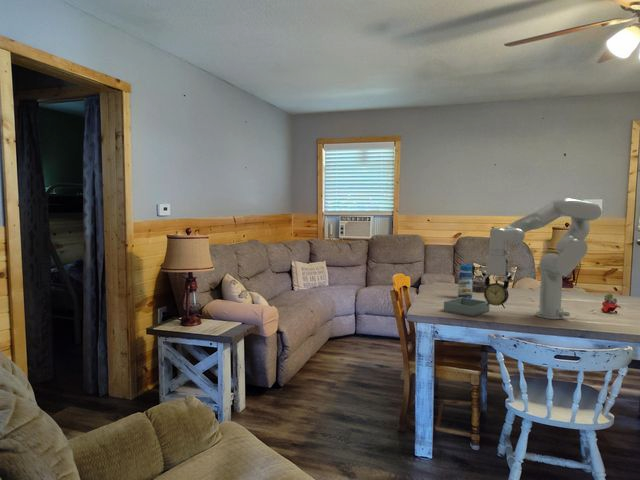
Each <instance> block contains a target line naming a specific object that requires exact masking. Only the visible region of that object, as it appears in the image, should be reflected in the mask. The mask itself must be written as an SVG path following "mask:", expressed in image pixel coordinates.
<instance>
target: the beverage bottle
mask: <svg viewBox="0 0 640 480" xmlns="http://www.w3.org/2000/svg"><path fill="white" fill-rule="evenodd" d="M459 271H460V273H459V274H458V279H457V282H458V289H457V298H460V297H463V298H469V299H473V289H472V285H473V281H474V275H473V274H472V271H473V265H470V264H460V266H459Z"/></svg>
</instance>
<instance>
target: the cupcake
mask: <svg viewBox="0 0 640 480" xmlns="http://www.w3.org/2000/svg"><path fill="white" fill-rule="evenodd" d="M486 287H487V286H486V284H485V278H484V276H482V275H481V276H480V275H479V276H476V278H475V279H473V285H472V293H479V294H484V290H485V288H486Z"/></svg>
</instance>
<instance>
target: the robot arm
mask: <svg viewBox="0 0 640 480" xmlns="http://www.w3.org/2000/svg"><path fill="white" fill-rule="evenodd" d="M601 214H602V209H601V207H600V205H599V204H598V203H595V202H591V201H586V200H580V199H575V198H570V197H569V198H567V197H566V198H556V199H554V200H552V201H550V202H549V203H547V204H545V205H544V206H542V207H540V208H539V209H537V210H535V211H533V212H532V213H530V214H528V215H526V216H523V217H521V218H519V219H516V220H515V221H513V222H511V223H510V224H508V225H507V226H505V227H504V228H502V227H493V228H490V231H489V253H488V255H487V260H486V265H485V266H484V267H482V268H480V269H479V271H480V272H481V276H482V277H484V278H485V284H486V286H488V285H489V284H491V278H490V277H491V276H494V277H499V276H500V277H503V279H504V281H503V285H504V289H507V290H508V288H509V285H510V280H511V279H512V278H514V275H515V273H516V272H515V271H513V270H512V269H510V263H509V257H508V254H509V253H510V252H509V251H508V250H507V243H512V244H519V243H521V242H523V241H524V240H525V237H526V234H525V233H527V232H531V231H533V230H539V229H541V228H544V227H546V226H548V225H549V224H551V223H553V222H554V221H556V220H557V219H559V218H561V217H570V220H571V223H570V227H569V228H568V229H567V230H566V232H565V233H564V234H563V235H562V236H561V237H560V238H559V240H558V241H557V243H556V245H555V250H556V252H557V253H558V254H556V253H546V254H544V255H543V256H542V257H541V258H540V261H539V269H540V271H539V272H540V287H539V288H540V289H539V290H540V291H539V307H538V308H539V309H538V310H539V311H536V312H535V316H536V317H539V318H543V319H547V320H563V319H564V318H565V317H570V316H571V312H569V311H564V309H563V308H562V297H563V295H562V294H563V293H562V292H563V291H562V290H563V276H568V274H571V272H572V271H574V270H575V268H576V267H577V266H578V265H579V264H580V262H581V261H582V260H583V259H584V257H585V256H586V255H587V253H588V247H589V246H588V243H587V242H586V241H585V239H586V238H587V236H589V234H590V230H591V229H590V228H591V226H590V221H596V220H597V219H599V218H600V217H601Z"/></svg>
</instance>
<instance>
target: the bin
mask: <svg viewBox="0 0 640 480" xmlns="http://www.w3.org/2000/svg"><path fill="white" fill-rule="evenodd" d="M487 304H488V302H487V301H486V300H480V299H475V298H474V299H473V298H472V299H469V298H463V297H460V298H458V297H457V298H453V299H449V300H445V301H443V312H447V313H451V314H455V315H462V316H467V317H470V318H471V317H472V318H473V317H477V316H480V315H483V314H485V313H489V312H490V305H491V304H489V305H488V306H487Z"/></svg>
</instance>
